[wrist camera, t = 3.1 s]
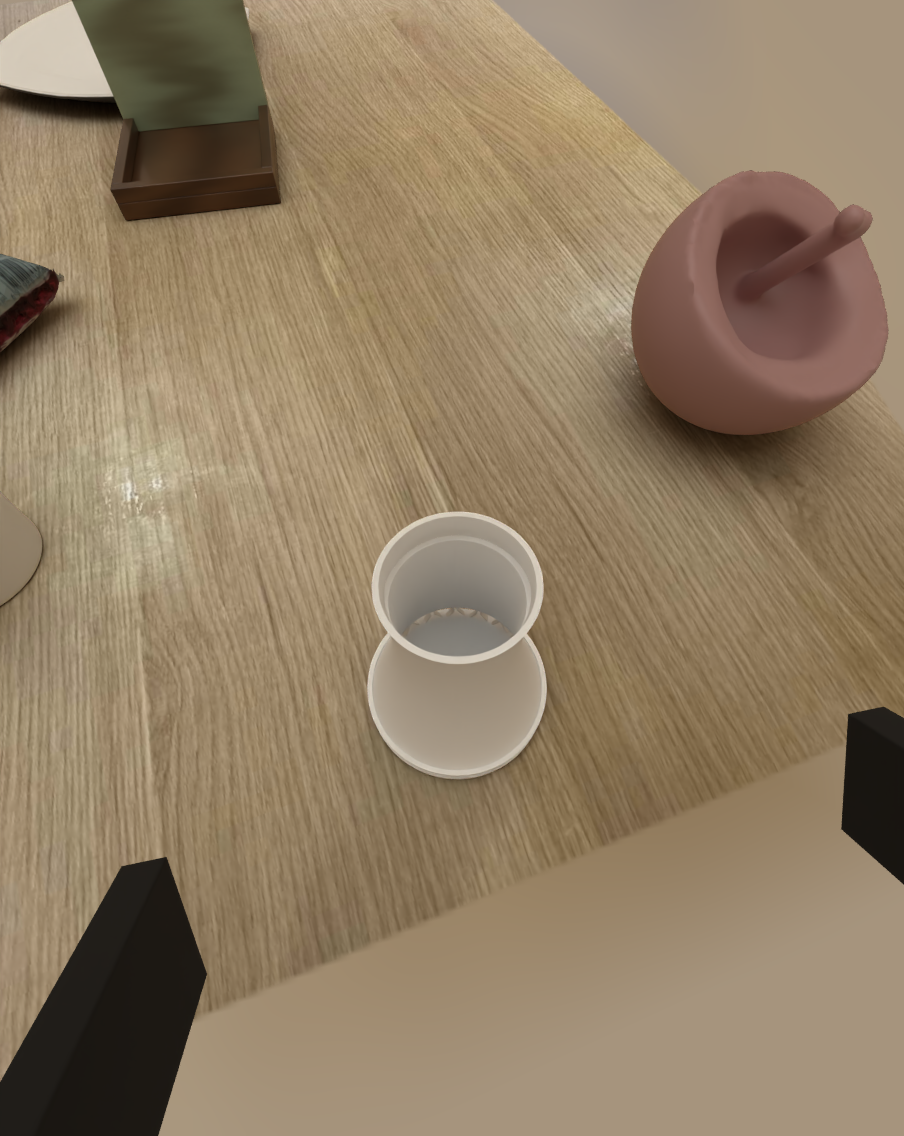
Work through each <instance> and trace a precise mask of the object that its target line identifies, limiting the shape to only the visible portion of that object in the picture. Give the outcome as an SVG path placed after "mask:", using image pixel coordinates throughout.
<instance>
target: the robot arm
mask: <svg viewBox="0 0 904 1136" xmlns="http://www.w3.org/2000/svg"><path fill="white" fill-rule="evenodd" d="M841 829H842V830H843V831H844V832H845V833H846V834H848V835H849V836H850V837H851V838H852V839H853V840H854V841H855V842H857V843H858V844H859V845H860V846H861V847H862V848H863V849H864V850H865V851H867V852H868V853H869V854H870V855H871V856H872V857H873V858H874V859H876V860H877V861H878V862H879V863H880V864H881V865H882V866H883V867H885V868H886V869H887V870H888V871H889V872H890V873H891V874H892V875H894V876H895V877H896V878H897V879H898V880H899V881H900V882H902V883H903V884H904V718H903V717H901V716H899V715H897V714H896V713H894V712H892V711H890V710H889V709H887V708H885V707H880V708H875V709H871V710H866V711H861V712H856V713H852V714H848V728H847V745H846V761H845V779H844V794H843V811H842V828H841ZM206 976H207V973H206V970H205V967H204V964H203V961H202V958H201V955H200V953H199V950H198V947H197V944H196V941H195V938H194V935H193V932H192V929H191V927H190V924H189V921H188V918H187V915H186V912H185V909H184V906H183V903H182V901H181V898H180V895H179V892H178V889H177V886H176V883H175V880H174V877H173V875H172V872H171V869H170V866H169V863H168V860H167V857H164V858H159V859H155V860H150V861H145V862H140V863H135V864H131V865H126V866H122V867H121V869H120V870H119V872H118V874H117V876H116V878H115V879H114V881H113V883H112V885H111V886H110V888H109V890H108V892H107V894H106V895H105V897H104V899H103V901H102V902H101V904H100V906H99V908H98V910H97V911H96V913H95V915H94V917H93V918H92V920H91V922H90V924H89V926H88V927H87V929H86V931H85V933H84V934H83V936H82V938H81V940H80V941H79V943H78V945H77V947H76V949H75V950H74V952H73V954H72V956H71V957H70V959H69V961H68V963H67V965H66V966H65V968H64V970H63V972H62V973H61V975H60V977H59V979H58V981H57V982H56V984H55V986H54V988H53V989H52V991H51V993H50V995H49V997H48V998H47V1000H46V1002H45V1004H44V1005H43V1007H42V1009H41V1011H40V1012H39V1014H38V1016H37V1018H36V1020H35V1021H34V1023H33V1025H32V1027H31V1028H30V1030H29V1032H28V1034H27V1036H26V1037H25V1039H24V1041H23V1043H22V1044H21V1046H20V1048H19V1050H18V1052H17V1053H16V1055H15V1057H14V1059H13V1060H12V1062H11V1064H10V1066H9V1068H8V1069H7V1071H6V1073H5V1075H4V1076H3V1078H2V1080H1V1082H0V1136H158V1134H159V1131H160V1128H161V1124H162V1121H163V1118H164V1114H165V1111H166V1108H167V1105H168V1101H169V1098H170V1095H171V1091H172V1088H173V1085H174V1082H175V1078H176V1075H177V1072H178V1068H179V1065H180V1061H181V1058H182V1055H183V1052H184V1048H185V1045H186V1041H187V1039H188V1035H189V1032H190V1029H191V1025H192V1022H193V1019H194V1015H195V1012H196V1009H197V1005H198V1002H199V999H200V995H201V992H202V989H203V986H204V982H205V979H206Z"/></svg>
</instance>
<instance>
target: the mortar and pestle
mask: <svg viewBox="0 0 904 1136" xmlns="http://www.w3.org/2000/svg"><path fill="white" fill-rule="evenodd" d="M872 219H873V218H872V215H871V213H870V212H868V211H866V210H864V209H863V208H861V207H859V206H857V205H854V204H853V205H850V206H848V207H847V208H845V209H844V210H842V211H841V212H840V211H838V209H837V208H836V206H835V205H834V203H833V202H832V201H831V200H830V199H829V198H828V197H827V196H825V195H824V194H823V193H822V192H821V191H820V190H818V189H817V188H815V187H814V186H812V185H811V184H810V183H808V182H806V181H805V180H802V179H799V178H797V177H795V176H793V175H789V174H786V173H783V172H775V171H774V172H754V171H752V170H750V171H746V172H744V171H743V172H740V173H737V174H735V175H733V176H731V177H728V178H726V179H724V180H722V181H721V182H719V183H718V184H717V185H715V186H713V187H711V188H710V189H709V190H708V191H707V192H705V193H704V194H702V195H701V196H700V197H699V198H697V199H696V200H695V201H694V202H692V203H691V204H690V205H689V206H688V207H687V208H686V209H685V210H684V211H683V212H682V213H681V214H680V215H679V216H678V217H677V218H676V219H675V220H674V221H673V223H672V224H671V225H670V226H669V227H668V228H667V230H666V231H665V233H664V234H663V235H662V237H661V238H660V240H659V241H658V242H657V244H656V246H655V247H654V249H653V251H652V252H651V254H650V256H649V258H648V260H647V262H646V264H645V266H644V268H643V271H642V273H641V276H640V279H639V282H638V285H637V288H636V292H635V297H634V302H633V307H632V320H631V332H632V342H633V349H634V354H635V357H636V361H637V364H638V367H639V369H640V371H641V374H642V376H643V378H644V380H645V381H646V383H647V385H648V387H649V388H650V389H651V391H652V392H653V393H654V395H655V396H656V397H657V398H658V399H659V401H660V402H661V403H662V404H664V405H665V406H666V407H667V408H668V409H669V410H670V411H672V412H673V413H674V414H676V415H677V416H678V417H680V418H682V419H684V420H686V421H687V422H689V423H691V424H694V425H696V426H698V427H701V428H704V429H707V430H711V431H715V432H719V433H725V434H735V435H756V434H764V433H772V432H776V431H780V430H785V429H788V428H791V427H794V426H797V425H800V424H803V423H805V422H808V421H810V420H812V419H814V418H816V417H818V416H820V415H822V414H824V413H826V412H828V411H829V410H831V409H833V408H834V407H836V406H837V405H839V404H840V403H842V402H843V401H844V400H846V399H847V398H849V397H850V396H851V395H852V394H853V393H855V392H856V391H857V390H858V389H860V388H861V387H862V386H863V385H864V384H865V383H866V382H867V381H868V380H869V379H870V377H871V376H872V375H873V374H874V373H875V372H876V370H877V369H878V367H879V366H880V364H881V362H882V359H883V355H884V352H885V346H886V342H887V339H888V324H887V312H886V309H885V304H884V299H883V296H882V291H881V285H880V283H879V280H878V276H877V274H876V272H875V270H874V267H873V264H872V262H871V260H870V258H869V255H868V252H867V249H866V247H865V246H864V243H863V241H862V239H861V237H860V236H862V235H863V234H864V233H865V232H866V231H867V230H868V229H869V227H870V225H871V223H872Z"/></svg>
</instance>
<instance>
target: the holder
mask: <svg viewBox="0 0 904 1136" xmlns="http://www.w3.org/2000/svg"><path fill="white" fill-rule="evenodd" d="M72 2H73V4H74V7H75V9H76V11H77V14H78V16H79V18H80V20H81V23H82V25H83V27H84V30H85V32H86V34H87V37H88V39H89V41H90V43H91V46H92V48H93V50H94V53H95V55H96V57H97V60H98V62H99V64H100V66H101V69H102V71H103V73H104V76H105V78H106V80H107V83H108V85H109V87H110V89H111V92H112V94H113V96H114V99H115V101H116V103H117V106H118V108H119V110H120V112H121V115H122V117H123V124H122V129H121V135H120V140H119V146H118V151H117V157H116V162H115V168H114V173H113V179H112V184H111V192H112V194H113V196H114V198H115V200H116V202H117V204H118V206H119V208H120V210H121V212H122V214H123V216H124V218H125V220H134V219H143V218H152V217H161V216H170V215H179V214H187V213H196V212H205V211H214V210H223V209H231V208H240V207H249V206H258V205H267V204H275V203H281V199H280V188H279V177H278V165H277V154H276V143H275V132H274V127H273V122H272V118H271V114H270V110H269V106H268V102H267V97H266V93H265V89H264V85H263V81H262V77H261V72H260V68H259V64H258V60H257V56H256V52H255V48H254V43H253V39H252V35H251V31H250V27H249V23H248V19H247V14H246V10H245V6H244V2H243V0H72Z"/></svg>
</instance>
